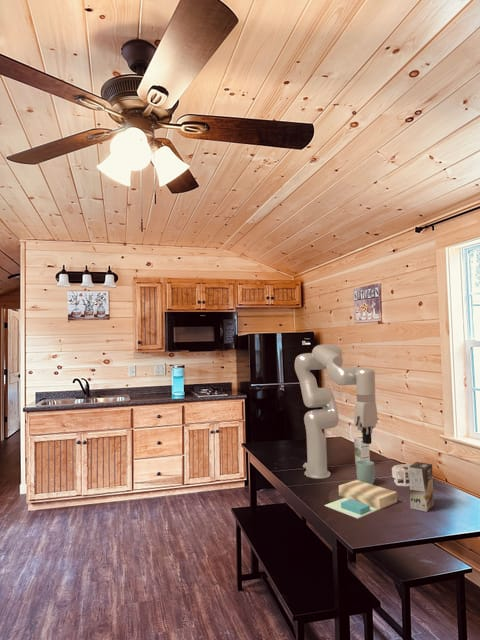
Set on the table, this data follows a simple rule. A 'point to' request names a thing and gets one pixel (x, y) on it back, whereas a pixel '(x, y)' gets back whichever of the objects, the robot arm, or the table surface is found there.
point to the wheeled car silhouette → (400, 474)
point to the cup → (365, 471)
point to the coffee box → (421, 486)
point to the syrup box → (361, 450)
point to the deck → (368, 494)
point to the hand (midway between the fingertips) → (367, 443)
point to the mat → (337, 506)
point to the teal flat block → (355, 506)
